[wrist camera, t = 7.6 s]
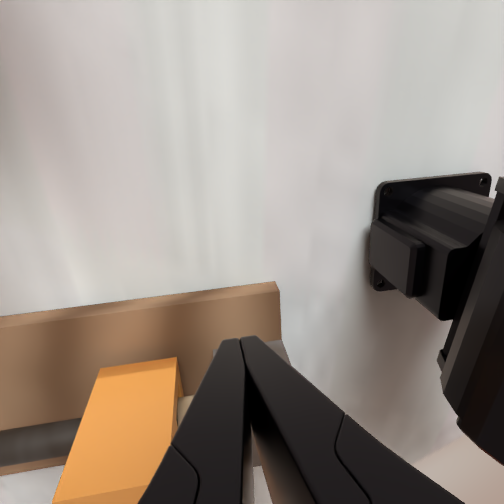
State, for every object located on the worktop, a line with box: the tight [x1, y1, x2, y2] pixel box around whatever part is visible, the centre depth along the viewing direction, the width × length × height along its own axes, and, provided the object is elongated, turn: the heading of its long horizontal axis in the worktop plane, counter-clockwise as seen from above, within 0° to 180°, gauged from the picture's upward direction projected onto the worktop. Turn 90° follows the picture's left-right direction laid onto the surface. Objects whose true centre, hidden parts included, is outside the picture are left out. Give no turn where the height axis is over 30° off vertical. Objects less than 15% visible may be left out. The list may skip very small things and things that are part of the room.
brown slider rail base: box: [0, 281, 291, 476], centre depth 18 cm, size 24×10×6 cm, turn 94°
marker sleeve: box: [52, 357, 184, 504], centre depth 17 cm, size 4×4×7 cm
